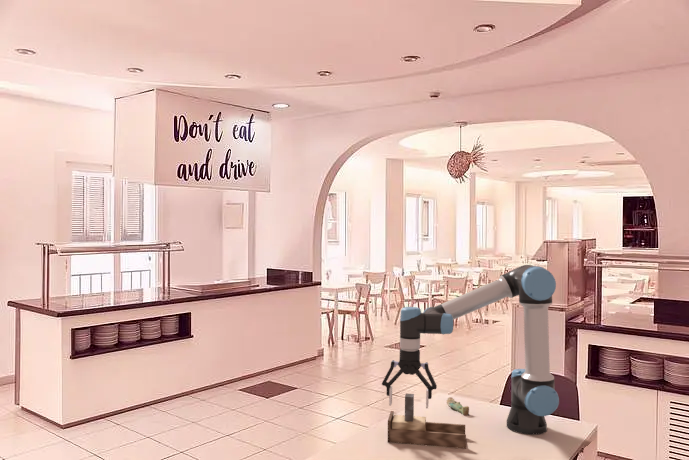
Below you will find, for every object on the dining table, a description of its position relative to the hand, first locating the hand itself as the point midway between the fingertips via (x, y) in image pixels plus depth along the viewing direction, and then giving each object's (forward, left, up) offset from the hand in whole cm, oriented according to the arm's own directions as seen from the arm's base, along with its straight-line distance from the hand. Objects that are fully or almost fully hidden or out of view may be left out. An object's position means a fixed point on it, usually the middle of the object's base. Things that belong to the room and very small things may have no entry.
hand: (408, 406), depth 208 cm
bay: (-7, 0, -12) cm, 14 cm away
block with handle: (0, 0, -11) cm, 11 cm away
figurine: (-18, -38, -13) cm, 44 cm away
